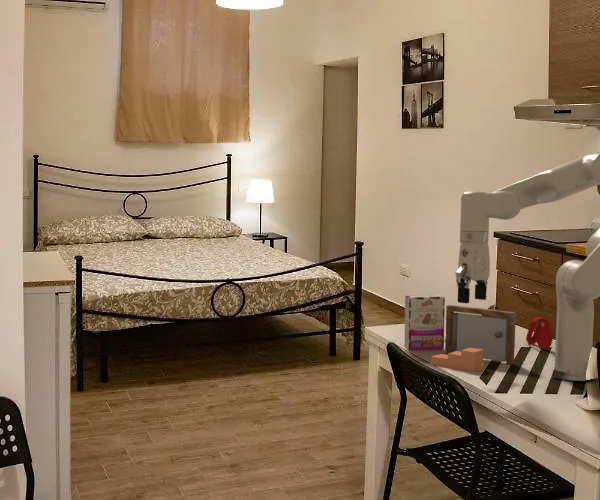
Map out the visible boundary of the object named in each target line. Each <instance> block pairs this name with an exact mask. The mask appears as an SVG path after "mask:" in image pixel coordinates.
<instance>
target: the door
mask: <svg viewBox="0 0 600 500" xmlns="http://www.w3.org/2000/svg"><path fill="white" fill-rule="evenodd" d="M507 329H508V318H497V317H489V316H481V315H479V314H470V313H462V312H454V313H453V343H452V352H455V351H460V352H461V350H464V349H467V348H476V349H483V360H491V361H496V362H497V361H498V362H503V363H506V355H507Z"/></svg>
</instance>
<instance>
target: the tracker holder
mask: <svg viewBox="0 0 600 500" xmlns="http://www.w3.org/2000/svg"><path fill="white" fill-rule="evenodd" d="M537 323H538V324H537ZM528 327H529V328H528V331H527V333H526V336H525V340H526V343H527V344H528V345H530V346H534V345H536V344H537V345H538V347H539V348H540V349H542V350H547V349H550V347H551V346H552V343H553V332H552V327H551V322H550V321H549V320H548V319H547V318H543V317H540V316H538V317H534V318H532V320H531V321H530V325H529V326H528Z"/></svg>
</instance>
